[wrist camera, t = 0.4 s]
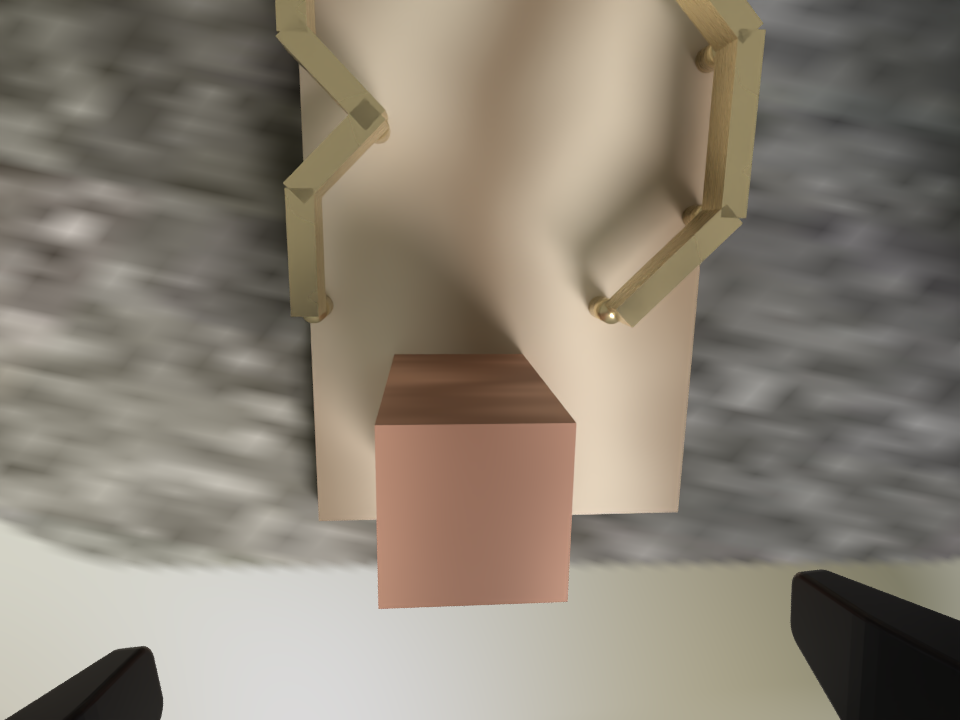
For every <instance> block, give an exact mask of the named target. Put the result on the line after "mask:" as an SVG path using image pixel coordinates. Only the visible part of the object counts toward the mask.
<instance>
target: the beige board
mask: <svg viewBox="0 0 960 720" xmlns="http://www.w3.org/2000/svg"><path fill="white" fill-rule="evenodd" d="M314 2H315V28H316V36H317V37H318V38H319V39H320V40H321V42H322V43H323V44H324V45H325V46H326V47H327V48H328V49H329V50H330V51H331V52H332V53H333V54H334V55H335V56H336V58H337V59H338V60H339V61H340V62H341V63H342V64H343V65H344V66H345V67H346V68H347V69H348V70H349V71H350V73H351V74H352V75H353V76H354V77H355V78H356V79H357V80H358V81H359V82H360V83H361V84H362V85H363V86H364V87H365V89H366V90H367V91H368V92H369V93H370V94H371V95H372V96H373V97H374V98H375V99H376V100H377V101H378V102H379V104H380V105H381V106H382V107H383V108H384V109H385V110H386V113H387V116H388V118H389V119H388V120H387V121H388V124H389V127H390V131H391V132H390V137H389V139H388V140H387V141H386V142H385V143H382V144H375V143H374V144H373V145H372V146H371V147H370V148H369V149H368V150H367V151H366V152H365V153H364V154H363V155H362V156H361V157H360V158H359V159H358V160H357V161H356V162H355V163H354V165H353V166H352V167H351V168H350V169H349V170H348V171H347V172H346V173H345V174H344V175H343V176H342V177H341V178H340V179H339V180H338V181H337V182H336V183H335V184H334V185H333V186H332V187H331V188H330V189H329V190H328V191H327V192H326V193H325V195H324V196H323V197H322V214H323V240H324V267H325V293H326V295H327V296H329V297H330V298H331V300H332V302H333V310H332V312H331V313H330V314H329V315H328V316H327V317H326V318H324V319H323V320H322V321H321V322H319V323H310V326H311V349H312V372H313V395H314V418H315V442H316V465H317V488H318V511H319V521H337V520H377V514H376V468H375V422H376V418H377V415H378V411H379V408H380V404H381V401H382V397H383V393H384V390H385V386H386V383H387V379H388V376H389V372H390V368H391V365H392V361H393V358H394V354H523V355H524V356H525V358H526V359H527V360H528V361H529V363H530V364H531V365H532V367H533V368H534V369H535V370H536V372H537V373H538V374H539V376H540V377H541V378H542V379H543V381H544V382H545V383H546V384H547V386H548V387H549V388H550V390H551V391H552V392H553V393H554V395H555V396H556V397H557V399H558V400H559V401H560V402H561V404H562V405H563V406H564V408H565V409H566V410H567V411H568V413H569V414H570V415H571V417H572V418H573V419H574V420H575V422H576V443H575V463H574V482H573V502H572V515H580V514H620V513H661V512H678V504H679V493H680V482H681V471H682V460H683V448H684V437H685V426H686V415H687V404H688V393H689V382H690V371H691V360H692V349H693V337H694V326H695V315H696V304H697V293H698V282H699V271H700V264H699V265H698V266H697V267H696V268H695V269H694V270H693V271H692V272H691V273H690V274H689V275H688V276H687V277H686V278H685V279H683V280H682V281H681V282H680V283H679V284H678V285H677V286H676V287H675V288H674V289H673V290H672V291H671V292H670V293H669V294H668V295H667V296H666V297H664V298H663V299H662V300H661V301H660V302H659V303H658V304H657V305H656V306H655V307H654V308H653V309H652V310H651V311H650V312H649V313H648V314H647V315H645V316H644V317H643V318H642V319H641V320H640V321H639V322H638V323H637V324H636V325H635V326H634V327H633V328H631V327H629V326H627V325H625V324H623V323H621V322H617V323H615V324H607V323H605V322H603V321H601V320H599V319H597V318H595V317H593V316H592V315H591V314H590V312H589V309H588V306H589V303H590V301H591V300H592V299H593V298H594V297H596V296H604V297H607V298H609V299H610V298H611V297H612V296H613V295H614V294H615V293H616V292H617V291H618V290H619V289H620V288H621V287H622V286H623V285H624V284H625V283H626V282H627V281H628V280H629V279H630V278H631V277H633V276H634V275H635V274H636V273H637V272H638V271H639V270H640V269H641V268H642V267H643V266H644V265H645V264H646V263H647V262H648V261H649V260H650V259H651V258H652V257H653V256H654V255H656V254H657V253H658V252H659V251H660V250H661V249H662V248H663V247H664V246H665V245H666V244H667V243H668V242H669V241H670V240H671V239H672V238H673V237H674V236H675V235H676V234H677V233H679V232H680V231H681V230H682V229H683V228H684V227H685V225H684V223H683V220H682V215H683V212H684V211H685V209H686V208H688V207H689V206H692V205H701V204H702V200H703V189H704V177H705V166H706V155H707V144H708V133H709V121H710V110H711V99H712V88H713V76H714V71H712V72H711V73H702V72H700V71H699V70H698V69H697V67H696V64H695V58H696V55H697V53H698V52H699V51H700V50H701V49H703V48H704V47H706V46H707V45H709V43H708V42H707V40H706V39H705V38H704V37H703V35H702V34H701V33H700V31H699V30H698V29H697V27H696V26H695V25H694V24H693V22H692V21H691V20H690V18H689V17H688V16H687V14H686V13H685V12H684V11H683V9H682V8H681V7H680V5H679V4H678V3H677V1H676V0H314ZM299 73H300V96H301V119H302V142H303V162H304V160H305V159H306V158H307V157H308V156H309V155H310V154H311V153H312V152H313V151H314V150H315V149H316V148H317V147H318V146H319V145H320V144H321V143H322V142H323V141H324V140H325V139H326V137H327V136H328V135H329V134H330V133H331V132H332V131H333V130H334V129H335V128H336V127H337V126H338V125H339V124H340V123H341V122H342V121H343V120H344V119H345V118H346V117H347V116H348V114H347V113H346V112H345V111H344V110H343V109H342V108H341V107H340V106H339V105H338V104H337V103H336V102H335V101H334V100H333V99H332V98H331V97H330V96H329V95H328V93H327V92H326V91H325V90H324V89H323V88H322V87H321V86H320V85H319V84H318V83H317V82H316V81H315V80H314V79H313V78H312V77H311V76H310V75H309V74H308V73H307V71H306V70H305V69H304V68H303V67H302V66H301V65H300V64H299Z"/></svg>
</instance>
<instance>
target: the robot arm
mask: <svg viewBox="0 0 960 720" xmlns="http://www.w3.org/2000/svg"><path fill="white" fill-rule="evenodd" d="M791 630H792V634H793V637H794V639H795V641H796V643H797V645H798V647H799V649H800V650H801V652H802V654H803V656H804V657H805V659H806V661H807V663H808V664H809V666H810V668H811V669H812V671H813V673H814V675H815V676H816V678H817V680H818V681H819V683H820V685H821V687H822V688H823V690H824V692H825V694H826V695H827V697H828V699H829V700H830V702H831V704H832V705H833V707H834V709H835V711H836V712H837V714H838V716H839V718H840V720H960V621H959V620H957V619H954V618H951V617H949V616H946V615H943V614H941V613H938V612H935V611H933V610H930V609H927V608H925V607H922V606H920V605H917V604H914V603H912V602H909V601H906V600H904V599H901V598H898V597H896V596H893V595H891V594H888V593H885V592H883V591H880V590H877V589H875V588H872V587H869V586H867V585H864V584H862V583H859V582H856V581H854V580H851V579H848V578H846V577H843V576H840V575H838V574H835V573H832V572H830V571H827V570H813V571H804V572H798V573H797V574H796V575H795V576H794V577H793V580H792V593H791ZM162 710H163V696H162V691H161V686H160V682H159V677H158V673H157V668H156V664H155V660H154V656H153V653H152V651H151V650H150V649H149V648H148V647H146V646H141V647H133V648H132V647H131V648H123V649H117V650H114V651H112V652H111V653H109V654H108V655H106V656H105V657H103V658H102V659H100V660H98V661H97V662H95V663H93V664H92V665H90V666H89V667H87V668H86V669H84V670H83V671H81V672H79V673H78V674H76V675H75V676H73V677H71V678H70V679H68V680H67V681H65V682H64V683H62V684H60V685H59V686H57V687H56V688H54V689H53V690H51V691H49V692H48V693H46V694H45V695H43V696H42V697H40V698H39V699H37V700H35V701H34V702H32V703H30V704H29V705H28V706H26V707H24V708H23V709H21V710H19V711H18V712H17V713H15V714H13V715H12V716H10V717H8V718H7V719H5V720H160V719H161V715H162Z"/></svg>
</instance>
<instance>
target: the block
mask: <svg viewBox="0 0 960 720" xmlns="http://www.w3.org/2000/svg"><path fill="white" fill-rule="evenodd" d="M575 443H576V422H575V420H574V419H573V418H572V417H571V415H570V414H569V413H568V411H567V410H566V409H565V408H564V406H563V405H562V404H561V402H560V401H559V400H558V399H557V397H556V396H555V395H554V393H553V392H552V391H551V390H550V388H549V387H548V386H547V384H546V383H545V382H544V381H543V379H542V378H541V377H540V376H539V374H538V373H537V372H536V370H535V369H534V368H533V367H532V365H531V364H530V363H529V361H528V360H527V359H526V358H525V356H524V355H523V354H394V358H393V361H392V365H391V368H390V372H389V376H388V379H387V383H386V386H385V390H384V393H383V397H382V401H381V404H380V408H379V411H378V415H377V418H376V422H375V468H376V514H377V560H378V603H379V604H378V605H379V609H388V608H415V607H441V606H468V605H495V604H522V603H547V602H548V603H549V602H567V600H568V581H569V561H570V541H571V522H572V502H573V482H574V463H575Z"/></svg>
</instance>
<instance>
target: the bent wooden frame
mask: <svg viewBox="0 0 960 720" xmlns="http://www.w3.org/2000/svg"><path fill="white" fill-rule="evenodd" d="M676 1H677V3H678V4H679V5H680V7H681V8H682V9H683V11H684V12H685V13H686V14H687V16H688V17H689V18H690V20H691V21H692V22H693V24H694V25H695V26H696V27H697V29H698V30H699V31H700V33H701V34H702V35H703V37H704V38H705V39H706V40H707V42H708V43H709V45H707V46H706V47H704V48H703V49H701V50H700V51H699V52H698V53H697V55H696V58H695V64H696V67H697V69H698V70H699V71H700V72H702V73H711V72H712V71H714V76H713V88H712V99H711V110H710V121H709V133H708V144H707V155H706V166H705V177H704V189H703V200H702V204H701V205H692V206H689V207H688V208H686V209H685V211H684V212H683V215H682V220H683V223H684V225H685V227H684V228H683V229H682V230H681V231H680V232H679V233H677V234H676V235H675V236H674V237H673V238H672V239H671V240H670V241H669V242H668V243H667V244H666V245H665V246H664V247H663V248H662V249H661V250H660V251H659V252H658V253H657V254H656V255H654V256H653V257H652V258H651V259H650V260H649V261H648V262H647V263H646V264H645V265H644V266H643V267H642V268H641V269H640V270H639V271H638V272H637V273H636V274H635V275H634V276H633V277H631V278H630V279H629V280H628V281H627V282H626V283H625V284H624V285H623V286H622V287H621V288H620V289H619V290H618V291H617V292H616V293H615V294H614V295H613V296H612V297H611V298H610V299H609V298H607V297H604V296H596V297H594V298H593V299H592V300H591V301H590V303H589V306H588V309H589V312H590V314H591V315H592V316H593V317H595V318H597V319H599V320H601V321H603V322H605V323H607V324H615V323H617V322H621V323H623V324H625V325H627V326H629V327H631V328H633V327H634V326H635V325H636V324H637V323H638V322H639V321H640V320H641V319H642V318H643V317H644V316H645V315H647V314H648V313H649V312H650V311H651V310H652V309H653V308H654V307H655V306H656V305H657V304H658V303H659V302H660V301H661V300H662V299H663V298H664V297H666V296H667V295H668V294H669V293H670V292H671V291H672V290H673V289H674V288H675V287H676V286H677V285H678V284H679V283H680V282H681V281H682V280H683V279H685V278H686V277H687V276H688V275H689V274H690V273H691V272H692V271H693V270H694V269H695V268H696V267H697V266H698V265H699V264H700V263H701V262H703V261H704V260H705V259H706V258H707V257H708V256H709V255H710V254H711V253H712V252H713V251H714V250H715V249H716V248H717V247H718V246H719V245H720V244H722V243H723V242H724V241H725V240H726V239H727V238H728V237H729V236H730V235H731V234H732V233H733V232H734V231H735V230H736V229H737V228H738V227H739V226H741V225H742V224H743V223H742V222H741V221H740V220H739V218H746V214H747V204H748V195H749V185H750V176H751V166H752V156H753V147H754V137H755V127H756V118H757V108H758V99H759V89H760V79H761V70H762V60H763V51H764V41H765V31H766V30H760V29H758V28H759V27H760V26H761V25H762V24H763V22H762V21H761V20H760V18H759V17H758V15H757V14H756V13H755V11H754V10H753V9H752V7H751V6H750V5H749V3H748V2H747V1H746V0H676ZM275 8H276V28H277V32H278V34H277V35H276V37H277V39H278V40H279V41H280V43H281V44H282V45H283V46H284V48H285V49H286V50H287V52H288V53H289V54H290V55H291V56H292V57H293V58H294V59H295V60H296V61H297V62H298V63H299V64H300V65H301V66H302V67H303V68H304V69H305V70H306V71H307V73H308V74H309V75H310V76H311V77H312V78H313V79H314V80H315V81H316V82H317V83H318V84H319V85H320V86H321V87H322V88H323V89H324V90H325V91H326V92H327V93H328V95H329V96H330V97H331V98H332V99H333V100H334V101H335V102H336V103H337V104H338V105H339V106H340V107H341V108H342V109H343V110H344V111H345V112H346V113H347V114H348V116H347V117H346V118H345V119H344V120H343V121H342V122H341V123H340V124H339V125H338V126H337V127H336V128H335V129H334V130H333V131H332V132H331V133H330V134H329V135H328V136H327V137H326V139H325V140H324V141H323V142H322V143H321V144H320V145H319V146H318V147H317V148H316V149H315V150H314V151H313V152H312V153H311V154H310V155H309V156H308V157H307V158H306V159H305V160H304V162H303V163H302V164H301V165H300V166H299V167H298V168H297V169H296V170H295V171H294V172H293V173H292V174H291V175H290V176H289V177H288V178H287V179H286V180H285V181H284V182H283V184H284V185H285V186H286V187H287V188H285V208H286V228H287V248H288V268H289V288H290V308H291V317H303V318H304V319H305V320H306V321H307V322H309V323H319V322H321V321H322V320H323V319H324V318H326V317H327V316H328V315H329V314H330V313H331V312H332V310H333V302H332V300H331V298H330V297H329V296H327V295H326V293H325V267H324V240H323V214H322V197H323V196H324V195H325V193H326V192H327V191H328V190H329V189H330V188H331V187H332V186H333V185H334V184H335V183H336V182H337V181H338V180H339V179H340V178H341V177H342V176H343V175H344V174H345V173H346V172H347V171H348V170H349V169H350V168H351V167H352V166H353V165H354V163H355V162H356V161H357V160H358V159H359V158H360V157H361V156H362V155H363V154H364V153H365V152H366V151H367V150H368V149H369V148H370V147H371V146H372V145H373V144H374V143H375V144H382V143H385V142H386V141H387V140H388V139H389V137H390V132H391V131H390V127H389V124H388V121H387V120H388V119H389V118H388V116H387V113H386V110H385V109H384V108H383V107H382V106H381V105H380V104H379V102H378V101H377V100H376V99H375V98H374V97H373V96H372V95H371V94H370V93H369V92H368V91H367V90H366V89H365V87H364V86H363V85H362V84H361V83H360V82H359V81H358V80H357V79H356V78H355V77H354V76H353V75H352V74H351V73H350V71H349V70H348V69H347V68H346V67H345V66H344V65H343V64H342V63H341V62H340V61H339V60H338V59H337V58H336V56H335V55H334V54H333V53H332V52H331V51H330V50H329V49H328V48H327V47H326V46H325V45H324V44H323V43H322V42H321V40H320V39H319V38H318V37H317V36H316V28H315V2H314V0H275Z"/></svg>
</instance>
